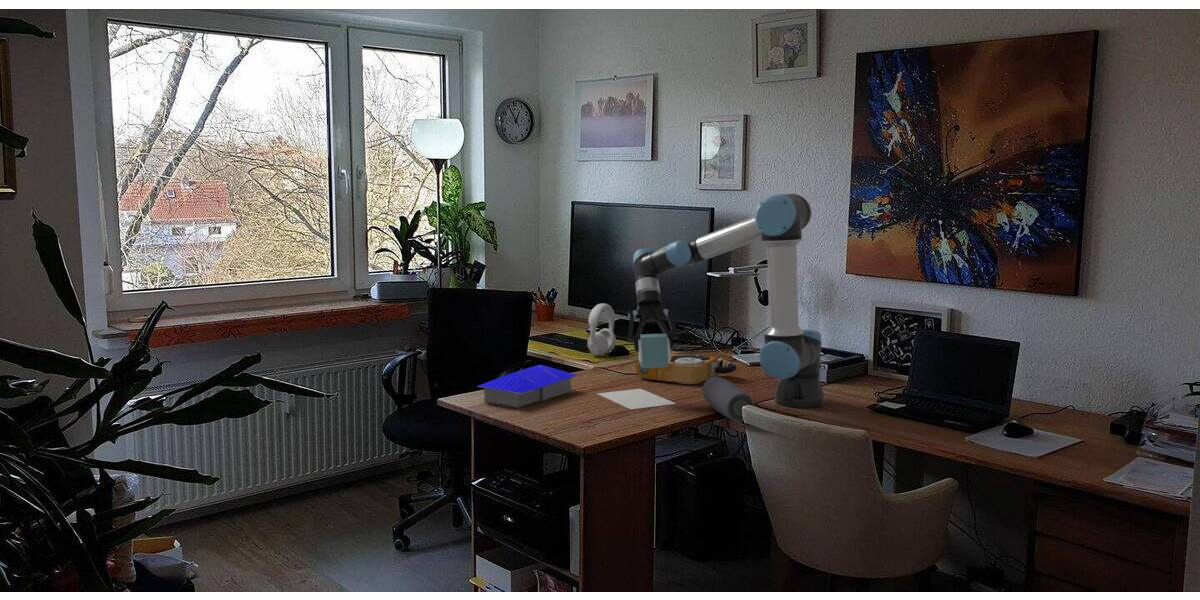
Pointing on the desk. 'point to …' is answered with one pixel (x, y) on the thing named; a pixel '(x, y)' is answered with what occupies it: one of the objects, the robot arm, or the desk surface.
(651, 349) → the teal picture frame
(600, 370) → the desk surface
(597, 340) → the headphones
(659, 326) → the robot arm
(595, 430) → the desk surface
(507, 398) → the blue topped grey box
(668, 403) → the mat
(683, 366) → the device
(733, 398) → the bluetooth speaker
